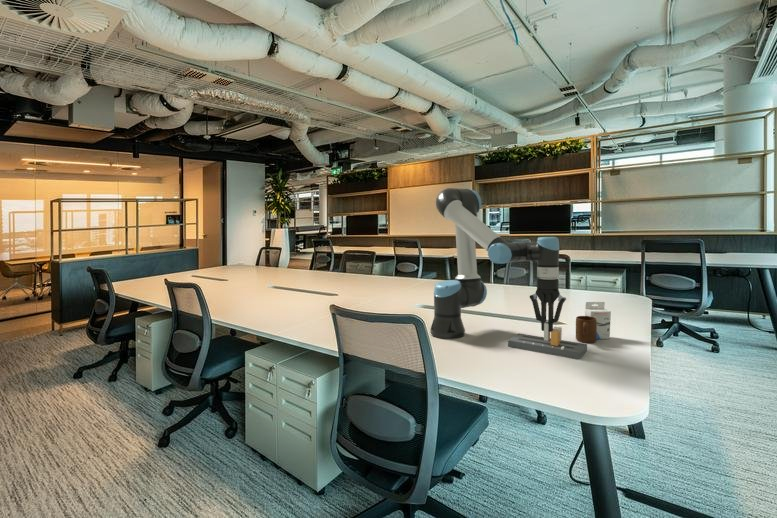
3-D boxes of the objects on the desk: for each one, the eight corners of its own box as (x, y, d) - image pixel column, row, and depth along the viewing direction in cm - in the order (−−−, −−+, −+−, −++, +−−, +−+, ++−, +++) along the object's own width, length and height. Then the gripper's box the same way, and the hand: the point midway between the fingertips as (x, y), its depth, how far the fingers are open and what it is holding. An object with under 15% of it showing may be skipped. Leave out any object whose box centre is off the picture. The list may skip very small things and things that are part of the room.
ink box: (590, 339, 159) (591, 303, 158) (583, 335, 164) (584, 301, 163) (610, 338, 159) (611, 303, 158) (603, 335, 164) (604, 301, 163)
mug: (596, 347, 148) (596, 323, 147) (574, 345, 152) (574, 322, 151) (596, 338, 159) (596, 316, 158) (576, 336, 162) (576, 314, 161)
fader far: (552, 341, 148) (552, 328, 147) (554, 339, 151) (555, 326, 150) (559, 342, 146) (559, 329, 146) (561, 340, 149) (561, 327, 149)
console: (507, 346, 151) (507, 338, 151) (518, 339, 161) (518, 331, 161) (579, 359, 136) (580, 350, 135) (586, 350, 145) (587, 342, 145)
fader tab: (550, 344, 143) (550, 331, 143) (553, 342, 146) (553, 329, 146) (557, 346, 142) (557, 332, 142) (559, 343, 145) (560, 330, 144)
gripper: (526, 278, 145) (526, 339, 147) (563, 280, 137) (562, 345, 139) (533, 275, 151) (532, 334, 153) (568, 278, 143) (567, 340, 145)
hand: (546, 339), depth 146 cm, fingers closed
